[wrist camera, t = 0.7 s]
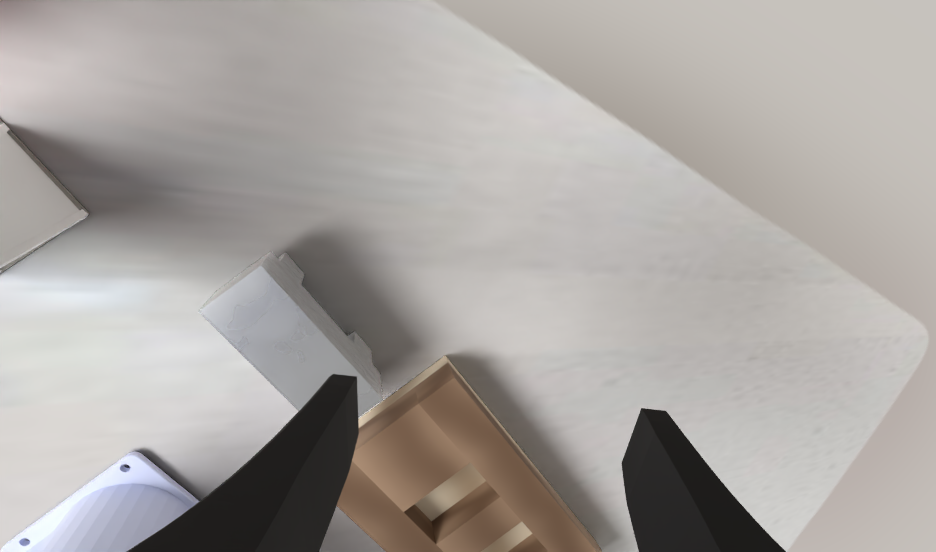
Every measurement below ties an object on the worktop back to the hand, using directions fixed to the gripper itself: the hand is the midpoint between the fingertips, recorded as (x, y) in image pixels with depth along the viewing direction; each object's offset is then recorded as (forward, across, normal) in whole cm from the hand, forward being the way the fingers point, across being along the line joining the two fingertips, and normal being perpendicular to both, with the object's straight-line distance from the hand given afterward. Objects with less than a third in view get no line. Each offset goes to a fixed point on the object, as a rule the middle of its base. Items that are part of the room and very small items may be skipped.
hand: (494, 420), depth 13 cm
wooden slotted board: (+13, 0, +21) cm, 25 cm away
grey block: (+14, +10, +8) cm, 19 cm away
